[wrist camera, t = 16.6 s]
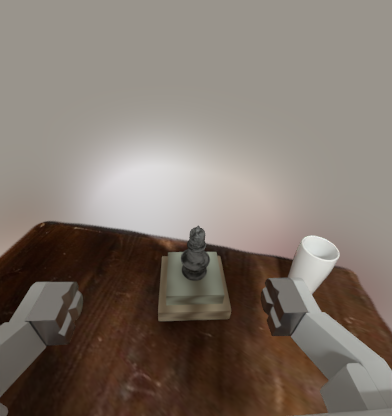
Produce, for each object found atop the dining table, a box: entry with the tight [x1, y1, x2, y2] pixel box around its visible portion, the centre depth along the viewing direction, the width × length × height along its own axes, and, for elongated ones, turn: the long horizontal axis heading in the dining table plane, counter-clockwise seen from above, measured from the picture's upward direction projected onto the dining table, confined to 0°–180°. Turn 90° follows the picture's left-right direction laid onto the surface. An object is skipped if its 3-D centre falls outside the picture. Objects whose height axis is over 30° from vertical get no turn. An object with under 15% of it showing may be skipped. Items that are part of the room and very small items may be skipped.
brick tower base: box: [158, 252, 231, 321], centre depth 48 cm, size 14×14×6 cm
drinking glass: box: [288, 236, 340, 294], centre depth 46 cm, size 7×7×15 cm
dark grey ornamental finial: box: [181, 226, 210, 281], centre depth 43 cm, size 6×6×12 cm
